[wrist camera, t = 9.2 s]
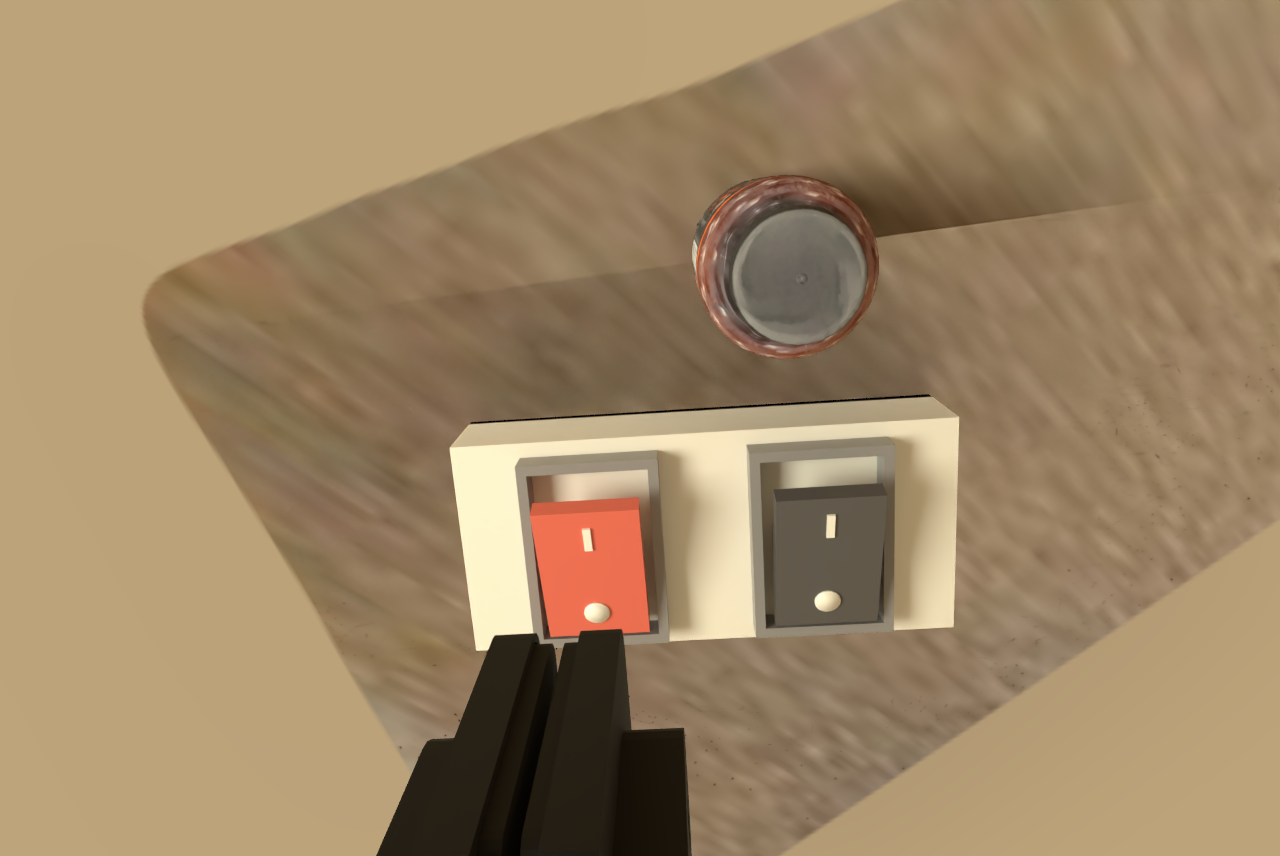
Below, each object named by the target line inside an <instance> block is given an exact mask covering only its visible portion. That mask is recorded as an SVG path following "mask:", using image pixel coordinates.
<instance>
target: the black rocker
mask: <svg viewBox="0 0 1280 856" xmlns="http://www.w3.org/2000/svg"><path fill="white" fill-rule="evenodd" d="M887 498H888V495H887V493H886V490H885V488H884V485H883V483H876V484H858V485H841V486H823V487H806V488H788V489H773V523H772V550H773V614H774V620H775V625H776V626H781V625H801V624H821V623H842V622H862V621H877V619H878V606H879V594H880V582H881V570H882V558H883V546H884V534H885V522H886V510H887Z"/></svg>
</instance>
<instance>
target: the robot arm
mask: <svg viewBox="0 0 1280 856" xmlns="http://www.w3.org/2000/svg"><path fill="white" fill-rule="evenodd" d="M376 856H692V854H691V833H690V814H689V796H688V780H687V765H686V749H685V735H684V728H671V729H648V730H631V719H630V707H629V695H628V683H627V671H626V659H625V647H624V637H623V631H622V629H609V630H589V631H580V634H579V639H578V642H570V643H564V647H563V651H562V656H561V660H560V665H559V669H558V674H557V664H556V655H555V649H554V645H553V643H550V644H540V641H539V637H538V635H537V633H529V634H509V635H495V636H494V637H493V639H492V642H491V644H490V647H489V649H488V652H487V655H486V657H485V660H484V662H483V665H482V668H481V670H480V673H479V675H478V678H477V681H476V683H475V686H474V688H473V691H472V693H471V696H470V699H469V701H468V704H467V706H466V709H465V712H464V714H463V717H462V719H461V722H460V725H459V727H458V730H457V732H456V735H455V738H448V739H431V740H429V741H427V743H426V744H425V746H424V748H423V749H422V752H421V754H420V756H419V759H418V761H417V763H416V766H415V768H414V770H413V772H412V775H411V777H410V779H409V782H408V784H407V786H406V789H405V791H404V793H403V795H402V798H401V800H400V802H399V805H398V807H397V810H396V812H395V814H394V816H393V819H392V821H391V823H390V826H389V828H388V830H387V832H386V835H385V837H384V839H383V842H382V844H381V846H380V848H379V851H378V853H377V855H376Z"/></svg>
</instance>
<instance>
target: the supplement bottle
mask: <svg viewBox="0 0 1280 856" xmlns="http://www.w3.org/2000/svg"><path fill="white" fill-rule="evenodd" d="M692 259H693V269H694V274H695V278H696V281H697V285H698V289H699V293H700V296H701V298H702V301H703V304H704V306H705V309H706V310H707V312H708V314H709V316H710V317H711V319H712V320H713V322H714V323H715V324H716V326H717V327H718V328H719V329H720V331H721V332H722V333H723V334H724V335H725V336H726V337H727V338H729V339H730V340H731V341H733V342H734V343H735V344H737V345H738V346H740V347H741V348H743V349H745V350H747V351H749V352H752V353H755V354H757V355H760V356H764V357H770V358H777V359H795V358H801V357H806V356H809V355H813V354H816V353H818V352H821V351H823V350H826V349H828V348H830V347H831V346H833V345H834V344H836V343H837V342H839V341H840V340H842V339H843V338H844V337H845V336H846V335H848V334H849V333H850V332H851V331H852V330H853V328H854V327H855V326H856V325H857V324H858V323H859V321H860V320H861V319H862V317H863V316H864V314H865V312H866V311H867V309H868V307H869V305H870V303H871V301H872V298H873V295H874V293H875V290H876V285H877V280H878V275H879V255H878V247H877V242H876V239H875V235H874V233H873V230H872V228H871V225H870V223H869V221H868V220H867V218H866V217H865V215H864V214H863V212H862V211H861V210H860V209H859V207H858V206H857V205H856V203H855V202H853V201H852V200H851V199H850V198H849V197H848V196H847V195H846V194H845V193H843V192H842V191H840V190H839V189H838V188H836V187H834V186H832V185H830V184H828V183H826V182H823V181H820V180H817V179H814V178H810V177H805V176H796V175H779V176H770V177H765V178H758V179H752V180H750V181H744V182H742V183H740V184H738V185H736V186H734V187H732V188H730V189H728V190H727V191H726V192H725V193H723V194H722V195H721V196H719V198H718V199H716V200H715V201H714V202H713V203H712V204H711V205H710V207H709V208H708V209H707V210H706V212H705V213H704V215H703V217H702V219H701V220H700V222H699V223H698V224H697V230H696V234H695V238H694V243H693V252H692Z"/></svg>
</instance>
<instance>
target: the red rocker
mask: <svg viewBox="0 0 1280 856" xmlns="http://www.w3.org/2000/svg"><path fill="white" fill-rule="evenodd" d="M530 520H531V526H532V532H533V537H534V543H535V549H536V555H537V561H538V567H539V572H540V578H541V584H542V590H543V596H544V602H545V608H546V613H547V619H548V625H549V631H550V637H557V636H578V635H579V634H580V631H589V630H609V629H622V631H623V633H638V632H650V614H649V603H648V592H647V582H646V571H645V560H644V549H643V538H642V527H641V516H640V505H639V497H634V498H616V499H599V500H581V501H563V502H546V503H532V508H531V513H530Z"/></svg>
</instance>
